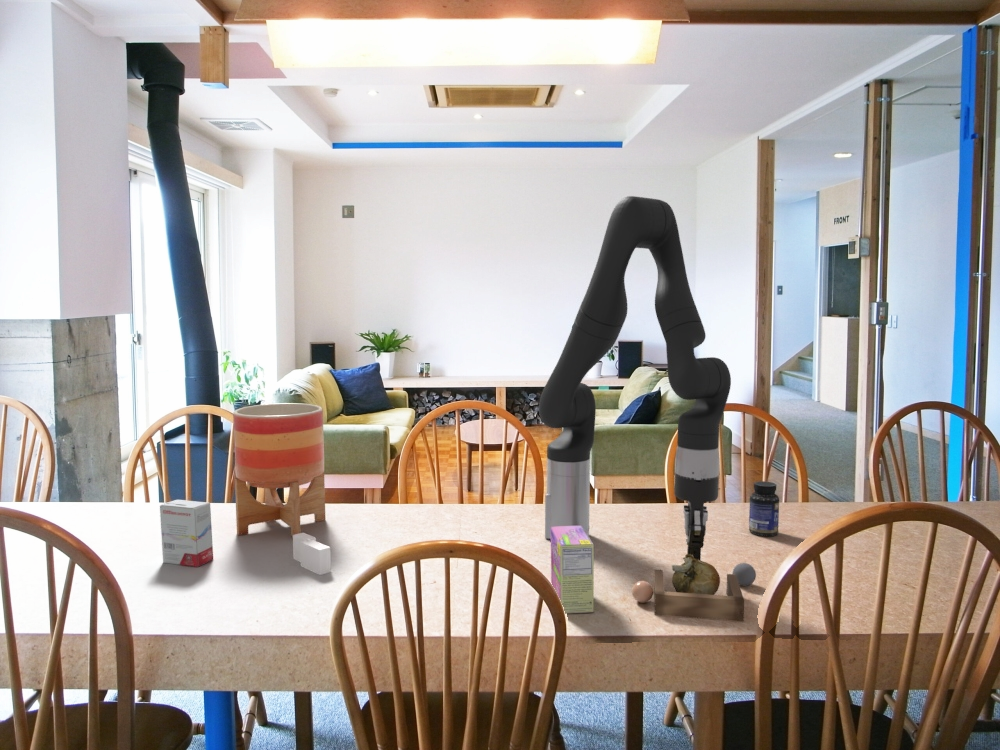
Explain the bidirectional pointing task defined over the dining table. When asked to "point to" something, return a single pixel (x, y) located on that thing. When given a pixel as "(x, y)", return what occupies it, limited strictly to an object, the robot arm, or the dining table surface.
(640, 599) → the glossy pink ball
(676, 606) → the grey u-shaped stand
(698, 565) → the onion
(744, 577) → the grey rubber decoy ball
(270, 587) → the dining table surface
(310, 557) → the white stepped block
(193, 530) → the ink box
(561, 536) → the box
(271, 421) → the planter
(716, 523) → the dining table surface
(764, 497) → the pill bottle
